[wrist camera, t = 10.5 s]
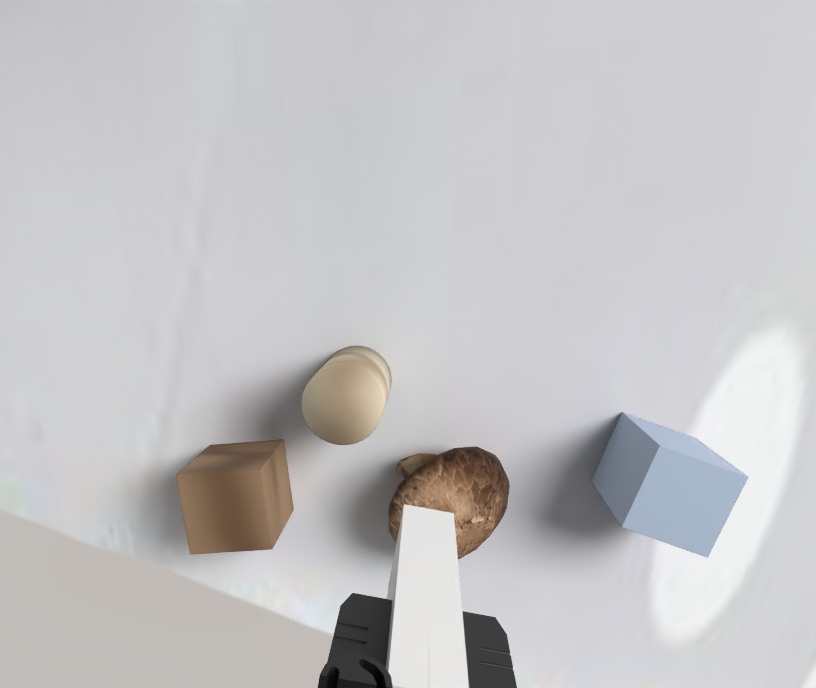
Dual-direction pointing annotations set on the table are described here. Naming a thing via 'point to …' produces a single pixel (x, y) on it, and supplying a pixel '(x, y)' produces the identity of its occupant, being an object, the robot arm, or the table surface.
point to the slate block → (667, 484)
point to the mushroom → (454, 492)
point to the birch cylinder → (347, 396)
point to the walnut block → (236, 497)
